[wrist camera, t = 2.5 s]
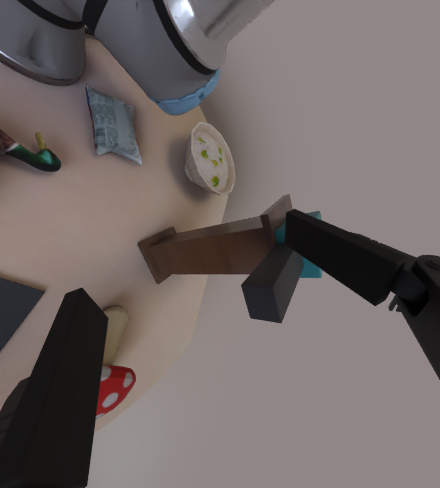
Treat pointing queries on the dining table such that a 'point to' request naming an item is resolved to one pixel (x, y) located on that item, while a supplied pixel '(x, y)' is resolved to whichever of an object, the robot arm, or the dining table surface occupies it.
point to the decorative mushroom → (114, 377)
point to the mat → (15, 307)
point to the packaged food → (113, 126)
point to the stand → (215, 246)
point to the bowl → (209, 160)
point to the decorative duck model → (30, 153)
